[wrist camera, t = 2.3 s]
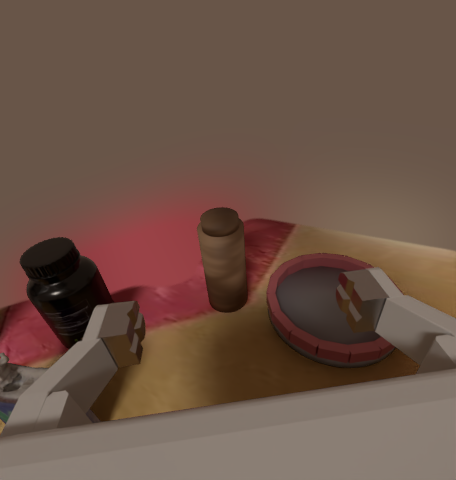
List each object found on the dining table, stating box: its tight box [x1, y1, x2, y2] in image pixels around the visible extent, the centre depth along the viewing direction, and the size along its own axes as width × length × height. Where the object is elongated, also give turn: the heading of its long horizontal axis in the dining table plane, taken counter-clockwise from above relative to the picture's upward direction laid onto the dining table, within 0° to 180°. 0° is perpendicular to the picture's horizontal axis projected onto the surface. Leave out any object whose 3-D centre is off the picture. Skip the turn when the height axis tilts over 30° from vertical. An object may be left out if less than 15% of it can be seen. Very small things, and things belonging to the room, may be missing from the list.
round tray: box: [267, 253, 404, 368], centre depth 33 cm, size 15×15×2 cm
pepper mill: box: [197, 208, 247, 313], centre depth 33 cm, size 5×5×12 cm
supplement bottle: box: [20, 237, 114, 349], centre depth 31 cm, size 7×7×12 cm
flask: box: [0, 353, 101, 424], centre depth 22 cm, size 9×3×11 cm, turn 77°
